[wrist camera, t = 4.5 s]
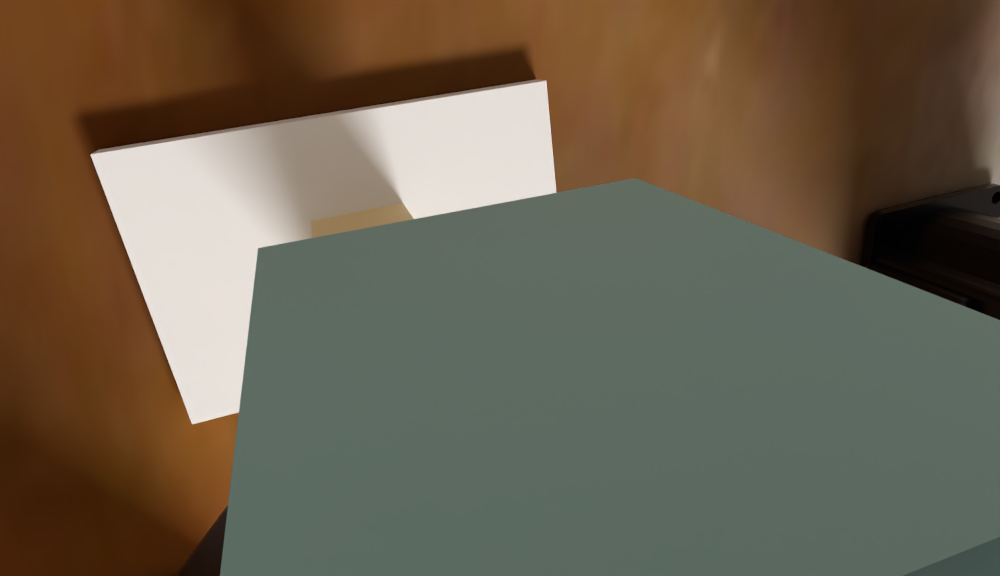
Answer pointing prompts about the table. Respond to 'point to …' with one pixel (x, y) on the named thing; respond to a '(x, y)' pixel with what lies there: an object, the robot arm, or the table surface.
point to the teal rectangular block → (607, 402)
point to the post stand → (302, 204)
